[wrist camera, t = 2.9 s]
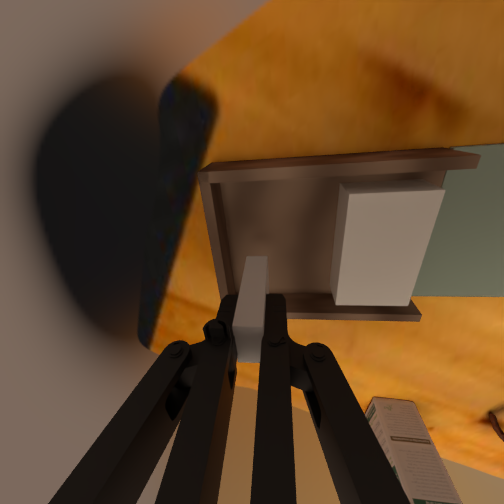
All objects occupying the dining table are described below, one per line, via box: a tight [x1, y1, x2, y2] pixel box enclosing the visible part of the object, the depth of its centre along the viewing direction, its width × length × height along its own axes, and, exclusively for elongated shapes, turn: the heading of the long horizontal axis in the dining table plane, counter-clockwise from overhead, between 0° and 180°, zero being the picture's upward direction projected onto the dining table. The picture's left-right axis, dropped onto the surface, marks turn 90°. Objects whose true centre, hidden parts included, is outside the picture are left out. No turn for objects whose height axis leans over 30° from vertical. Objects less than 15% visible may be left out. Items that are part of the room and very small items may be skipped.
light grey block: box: [330, 179, 446, 306], centre depth 20 cm, size 6×10×3 cm, turn 5°
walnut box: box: [197, 147, 481, 322], centre depth 21 cm, size 18×14×4 cm
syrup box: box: [365, 397, 463, 504], centre depth 29 cm, size 6×6×14 cm
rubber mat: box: [411, 143, 504, 297], centre depth 20 cm, size 12×14×1 cm
